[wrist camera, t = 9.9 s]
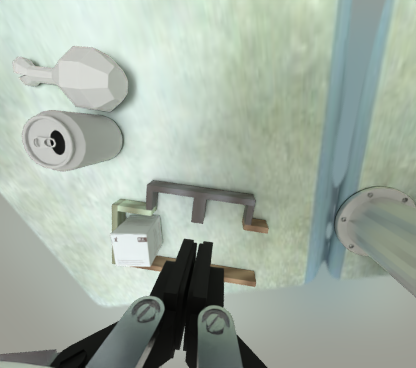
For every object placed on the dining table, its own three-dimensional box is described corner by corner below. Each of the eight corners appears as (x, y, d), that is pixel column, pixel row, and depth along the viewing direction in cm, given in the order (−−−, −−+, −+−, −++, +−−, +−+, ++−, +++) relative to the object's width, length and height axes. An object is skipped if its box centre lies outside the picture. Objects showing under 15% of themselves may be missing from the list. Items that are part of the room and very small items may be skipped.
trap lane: (270, 197, 36) (274, 203, 33) (253, 275, 40) (255, 286, 37) (120, 175, 37) (111, 179, 34) (120, 254, 41) (112, 263, 38)
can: (126, 160, 36) (80, 175, 24) (86, 158, 36) (22, 173, 25) (123, 115, 34) (70, 109, 22) (80, 114, 34) (7, 108, 23)
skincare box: (134, 242, 40) (114, 267, 33) (129, 214, 39) (108, 233, 32) (164, 243, 40) (150, 267, 33) (160, 214, 38) (146, 234, 31)
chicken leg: (33, 39, 33) (-28, 42, 26) (130, 46, 29) (85, 52, 22) (56, 93, 38) (10, 107, 32) (140, 106, 34) (106, 125, 28)
